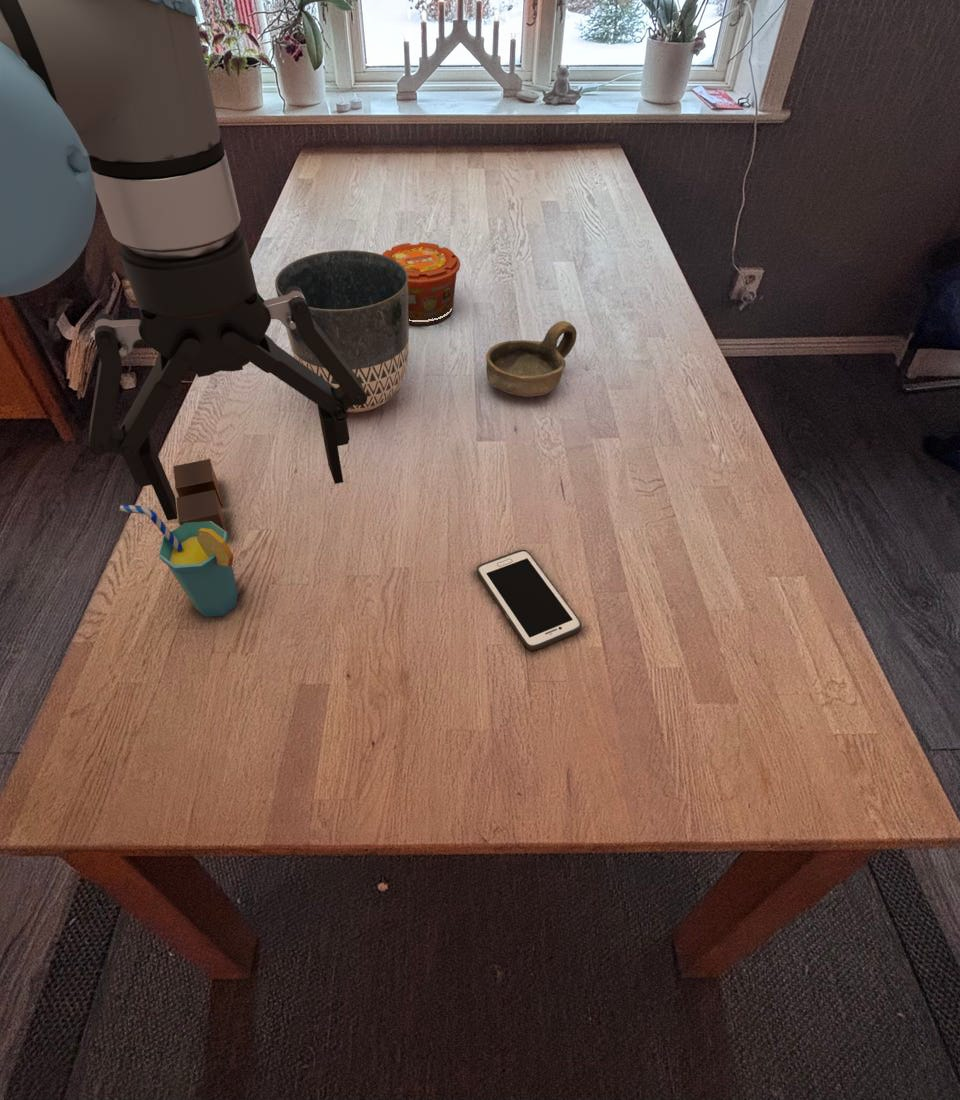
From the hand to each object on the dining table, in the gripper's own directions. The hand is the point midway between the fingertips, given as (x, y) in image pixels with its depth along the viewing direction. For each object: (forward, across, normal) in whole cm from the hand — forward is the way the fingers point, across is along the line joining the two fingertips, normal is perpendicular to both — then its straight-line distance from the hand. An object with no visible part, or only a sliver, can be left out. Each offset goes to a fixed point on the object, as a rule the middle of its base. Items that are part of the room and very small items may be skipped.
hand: (256, 491), depth 57 cm
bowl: (+29, -48, -47) cm, 73 cm away
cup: (+29, +10, -16) cm, 34 cm away
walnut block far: (+29, +9, -35) cm, 46 cm away
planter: (+29, -18, -52) cm, 62 cm away
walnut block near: (+29, +9, -28) cm, 41 cm away
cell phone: (+29, -28, -2) cm, 40 cm away
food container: (+29, -37, -79) cm, 92 cm away
